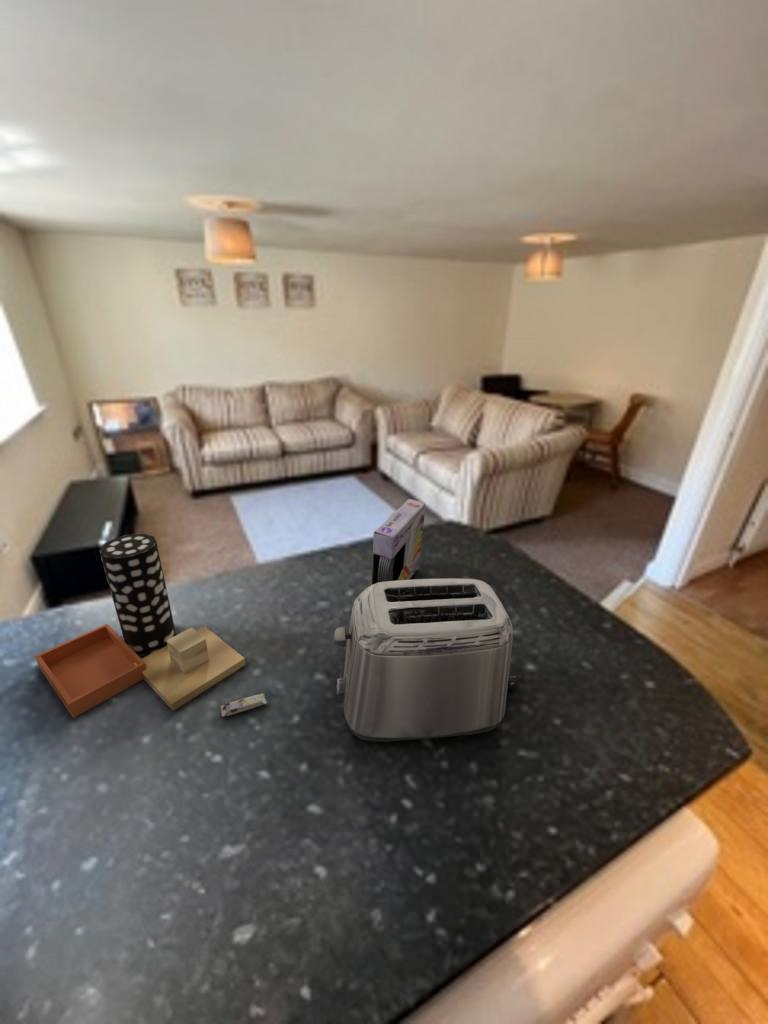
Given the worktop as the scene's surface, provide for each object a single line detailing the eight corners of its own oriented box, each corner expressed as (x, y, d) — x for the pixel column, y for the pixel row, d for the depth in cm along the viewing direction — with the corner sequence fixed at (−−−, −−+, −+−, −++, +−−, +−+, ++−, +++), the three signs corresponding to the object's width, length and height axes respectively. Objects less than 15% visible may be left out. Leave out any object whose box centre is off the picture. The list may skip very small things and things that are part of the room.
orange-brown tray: (39, 668, 75) (34, 655, 74) (110, 635, 83) (107, 623, 82) (73, 718, 67) (68, 704, 66) (148, 675, 75) (145, 663, 74)
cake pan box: (388, 612, 92) (391, 536, 84) (366, 605, 94) (368, 530, 86) (421, 568, 108) (427, 501, 100) (402, 563, 110) (406, 497, 102)
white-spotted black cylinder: (180, 644, 82) (160, 549, 73) (129, 662, 77) (102, 563, 69) (171, 620, 88) (151, 529, 79) (123, 635, 84) (97, 541, 75)
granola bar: (264, 695, 72) (264, 690, 71) (267, 706, 70) (266, 701, 69) (220, 708, 69) (219, 703, 69) (221, 719, 67) (221, 714, 67)
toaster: (336, 666, 78) (334, 573, 70) (501, 659, 80) (517, 569, 73) (335, 754, 63) (332, 648, 55) (538, 741, 65) (564, 638, 57)
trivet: (134, 669, 76) (133, 663, 75) (205, 631, 85) (204, 625, 84) (173, 711, 68) (171, 704, 68) (245, 664, 78) (245, 658, 77)
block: (170, 661, 76) (166, 640, 74) (195, 647, 79) (191, 627, 77) (184, 674, 73) (179, 653, 71) (209, 659, 76) (205, 638, 75)
